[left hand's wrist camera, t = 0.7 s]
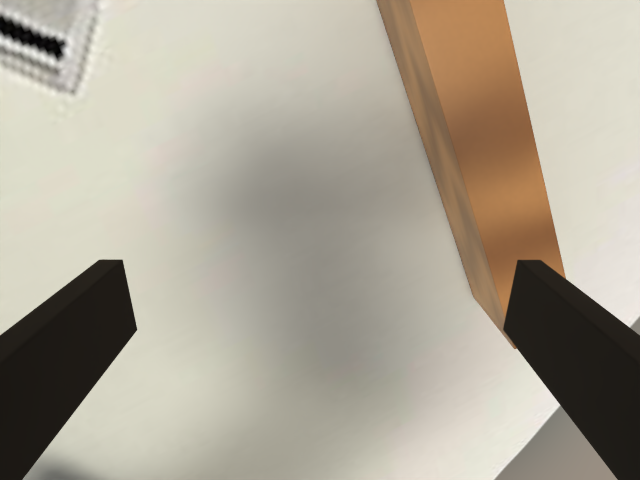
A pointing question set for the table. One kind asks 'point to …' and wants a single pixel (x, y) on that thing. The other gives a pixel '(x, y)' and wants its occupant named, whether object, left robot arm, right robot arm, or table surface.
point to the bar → (476, 137)
